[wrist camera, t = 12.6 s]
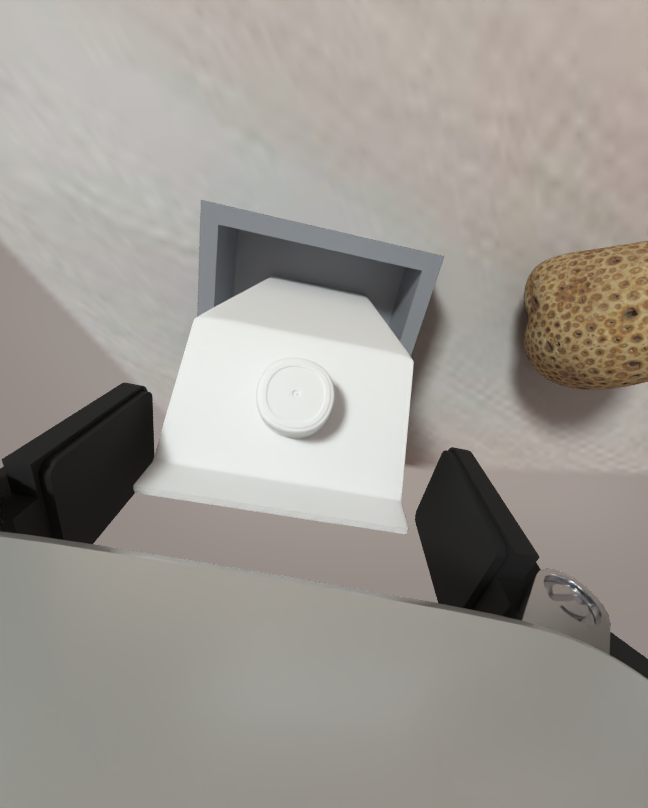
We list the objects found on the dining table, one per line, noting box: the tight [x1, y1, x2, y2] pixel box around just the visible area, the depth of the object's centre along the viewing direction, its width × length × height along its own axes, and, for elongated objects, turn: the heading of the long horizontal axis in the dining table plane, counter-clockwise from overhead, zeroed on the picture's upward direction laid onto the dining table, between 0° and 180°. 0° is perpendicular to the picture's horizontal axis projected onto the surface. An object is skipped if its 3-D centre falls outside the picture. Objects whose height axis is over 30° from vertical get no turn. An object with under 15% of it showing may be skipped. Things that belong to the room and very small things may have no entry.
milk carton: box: [133, 276, 414, 534], centre depth 17 cm, size 7×7×19 cm
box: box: [197, 200, 444, 357], centre depth 23 cm, size 14×14×5 cm
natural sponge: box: [524, 241, 648, 390], centre depth 20 cm, size 9×9×10 cm
